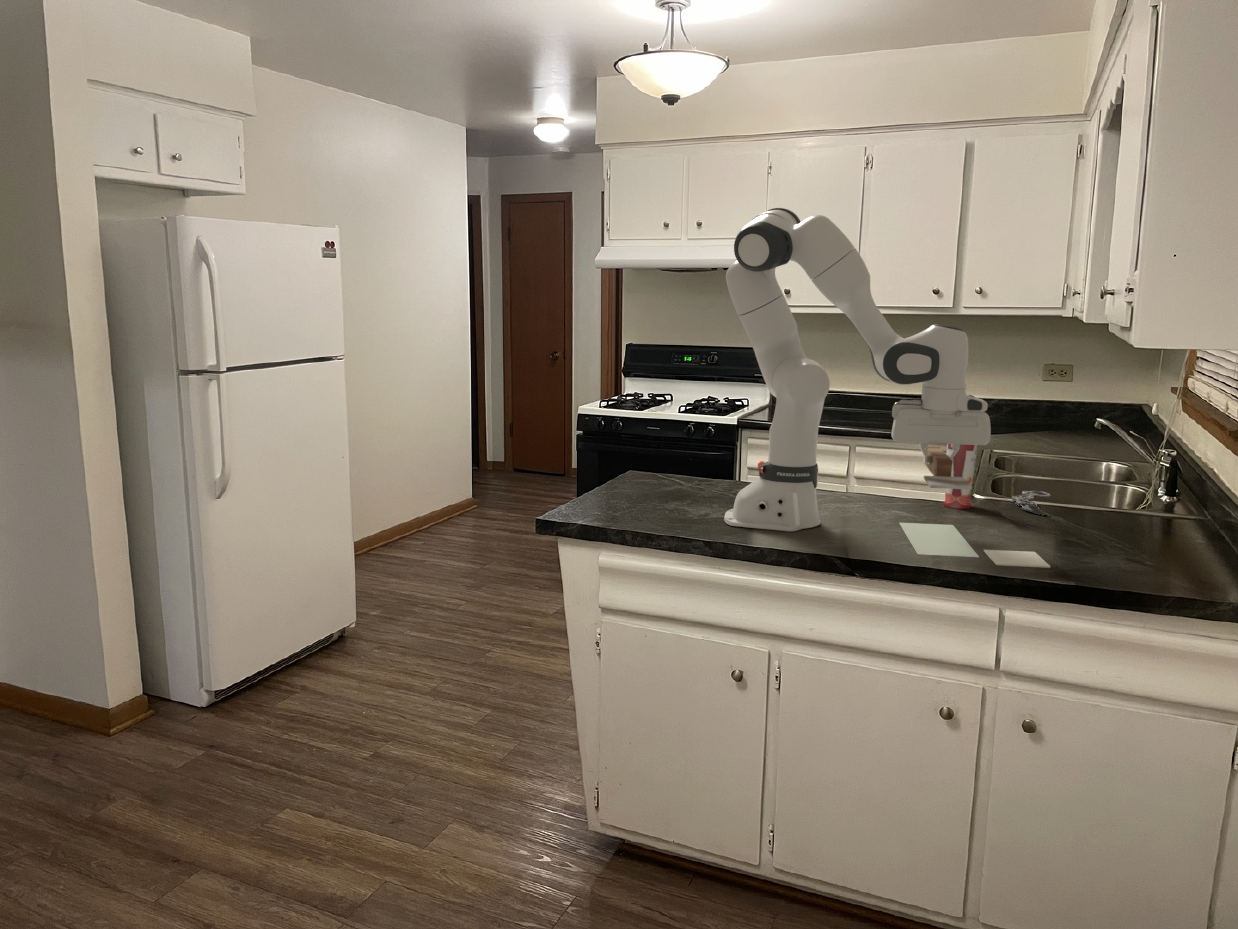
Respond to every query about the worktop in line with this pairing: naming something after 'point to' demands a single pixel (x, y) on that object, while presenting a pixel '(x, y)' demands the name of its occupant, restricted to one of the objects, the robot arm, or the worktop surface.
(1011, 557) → the tile
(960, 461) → the liquor
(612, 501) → the worktop surface
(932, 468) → the turner
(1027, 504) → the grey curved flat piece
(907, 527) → the plate
